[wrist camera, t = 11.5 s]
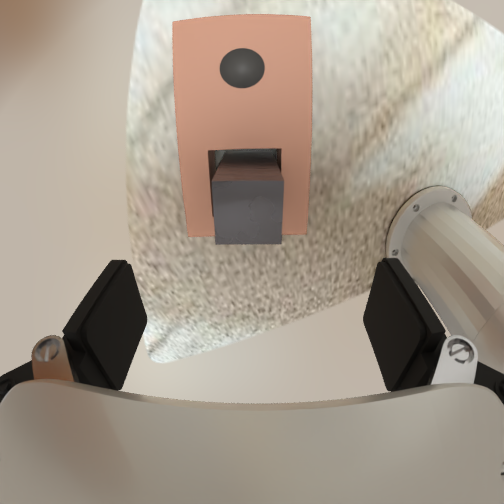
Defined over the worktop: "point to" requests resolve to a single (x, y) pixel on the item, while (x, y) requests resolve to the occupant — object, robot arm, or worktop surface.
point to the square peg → (248, 198)
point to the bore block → (243, 105)
